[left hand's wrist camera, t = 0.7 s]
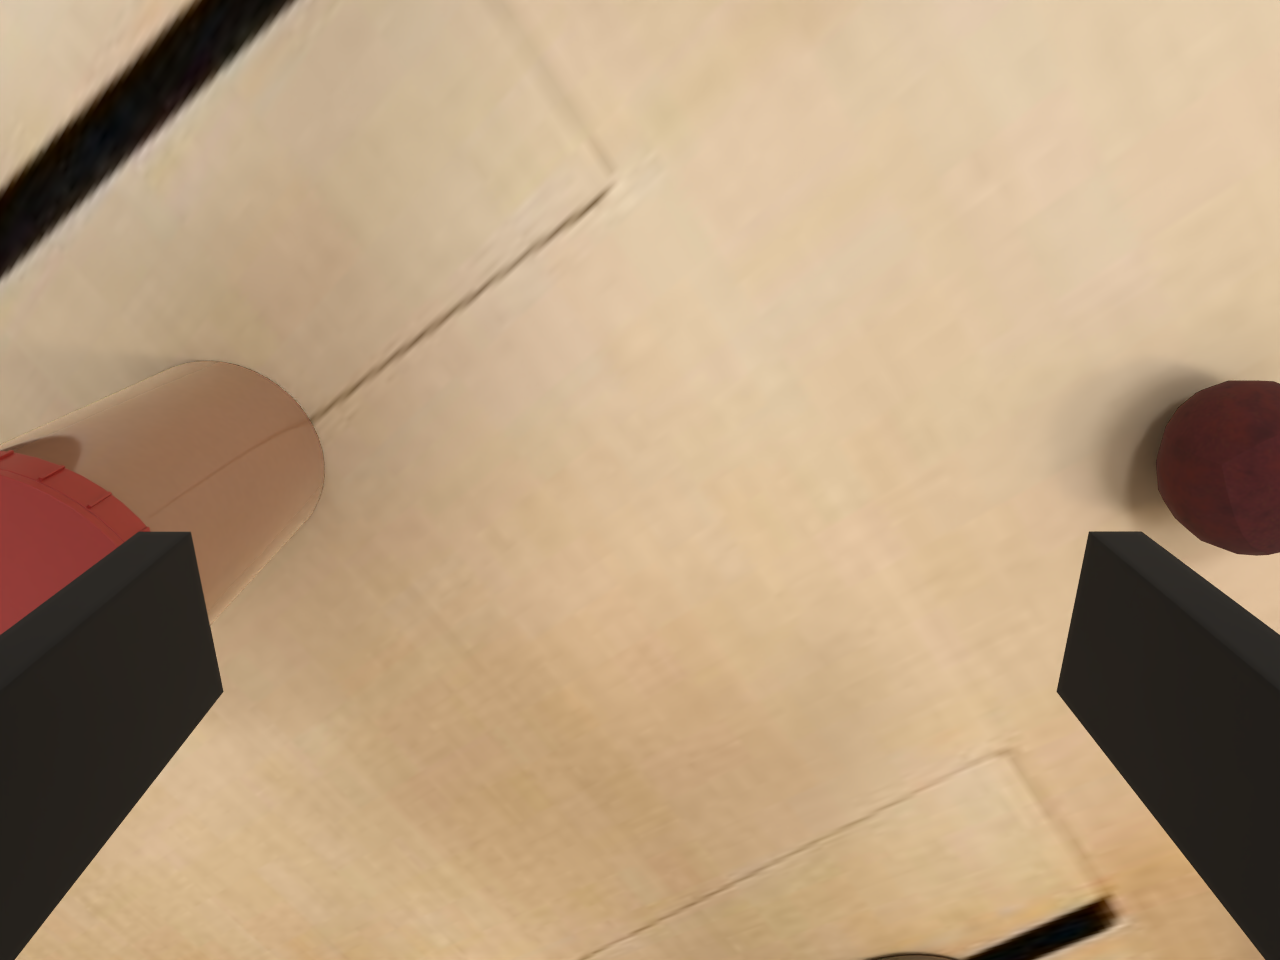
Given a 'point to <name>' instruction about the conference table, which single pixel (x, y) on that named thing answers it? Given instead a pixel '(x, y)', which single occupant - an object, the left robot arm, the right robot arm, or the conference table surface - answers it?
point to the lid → (52, 531)
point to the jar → (198, 464)
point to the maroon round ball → (1226, 466)
